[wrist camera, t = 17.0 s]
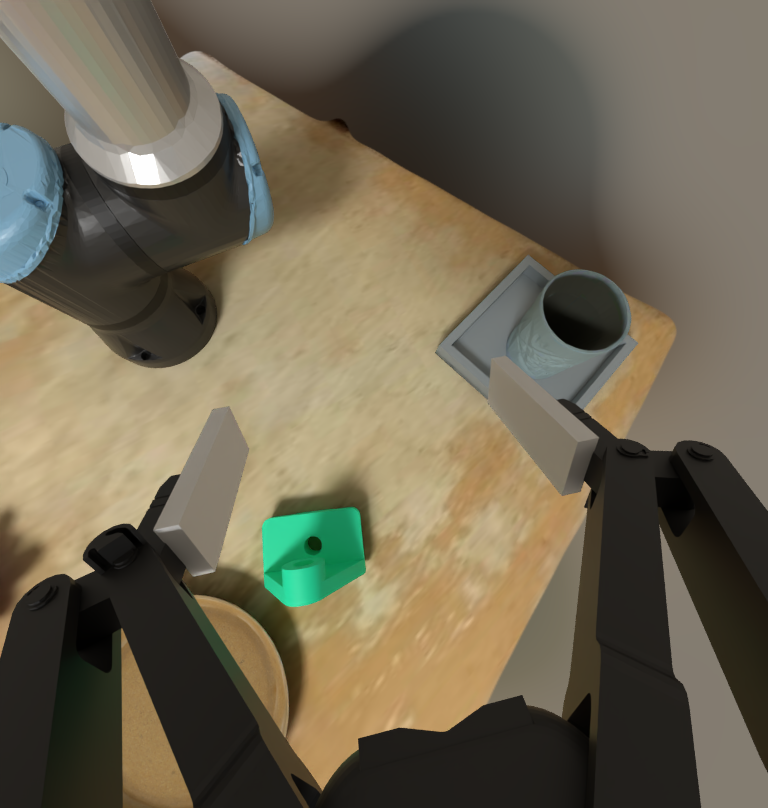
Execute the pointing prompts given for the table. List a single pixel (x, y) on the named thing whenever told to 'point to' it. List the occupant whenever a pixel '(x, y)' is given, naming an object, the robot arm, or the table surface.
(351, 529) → the camera mount
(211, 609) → the plant saucer
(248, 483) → the table surface
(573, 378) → the tray
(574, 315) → the grey green cup
